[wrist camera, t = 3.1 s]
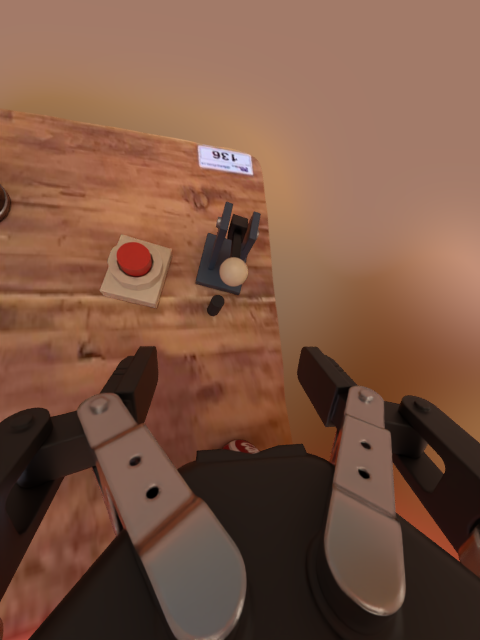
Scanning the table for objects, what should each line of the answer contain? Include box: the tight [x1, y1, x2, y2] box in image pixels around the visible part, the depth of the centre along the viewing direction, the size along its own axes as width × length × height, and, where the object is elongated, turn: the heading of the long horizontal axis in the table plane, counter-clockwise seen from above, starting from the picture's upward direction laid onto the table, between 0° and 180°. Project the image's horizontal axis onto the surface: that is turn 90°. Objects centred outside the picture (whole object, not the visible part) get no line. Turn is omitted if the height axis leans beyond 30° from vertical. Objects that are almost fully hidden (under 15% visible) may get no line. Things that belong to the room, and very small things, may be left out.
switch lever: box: [219, 214, 248, 287], centre depth 29 cm, size 13×3×3 cm, turn 169°
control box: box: [100, 234, 172, 308], centre depth 36 cm, size 10×8×4 cm
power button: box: [116, 242, 152, 276], centre depth 33 cm, size 4×4×2 cm
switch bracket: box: [196, 202, 261, 295], centre depth 36 cm, size 10×8×13 cm
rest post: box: [207, 295, 224, 316], centre depth 37 cm, size 2×2×5 cm
